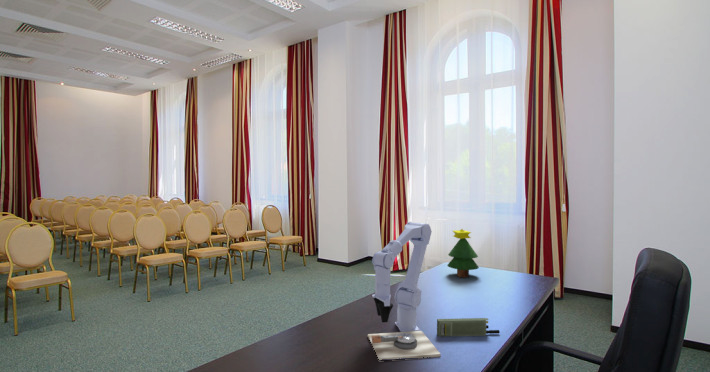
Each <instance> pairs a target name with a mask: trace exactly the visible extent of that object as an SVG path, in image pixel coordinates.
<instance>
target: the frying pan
mask: <svg viewBox="0 0 710 372" xmlns="http://www.w3.org/2000/svg"><path fill="white" fill-rule="evenodd" d="M393 341H397V342H399V343H403V344H411V343H413V342H415V336H414V335H412V334H409V333H400V334H397V335H389V336H380V335H376V336H372V343H381V342H393Z"/></svg>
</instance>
